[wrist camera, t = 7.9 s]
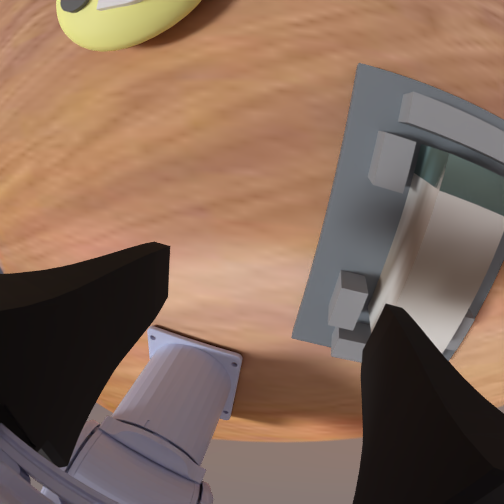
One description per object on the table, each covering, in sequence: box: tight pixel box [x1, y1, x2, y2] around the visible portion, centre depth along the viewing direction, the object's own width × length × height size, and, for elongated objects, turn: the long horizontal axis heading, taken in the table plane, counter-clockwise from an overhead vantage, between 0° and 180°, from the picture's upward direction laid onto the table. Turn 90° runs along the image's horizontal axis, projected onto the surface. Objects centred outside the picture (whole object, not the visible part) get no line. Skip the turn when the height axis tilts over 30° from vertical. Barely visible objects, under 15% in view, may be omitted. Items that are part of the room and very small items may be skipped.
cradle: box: [292, 63, 504, 363], centre depth 15 cm, size 17×12×3 cm
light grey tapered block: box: [368, 144, 504, 353], centre depth 14 cm, size 10×4×4 cm, turn 171°
